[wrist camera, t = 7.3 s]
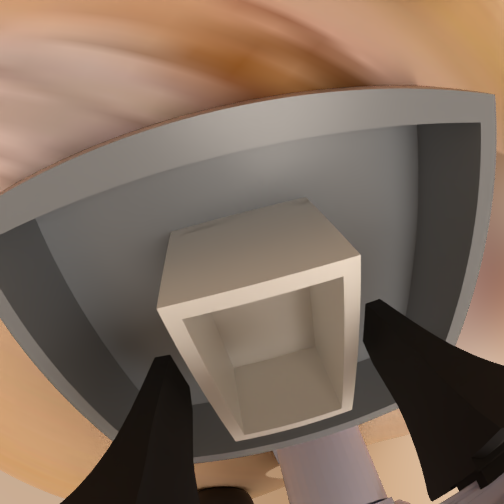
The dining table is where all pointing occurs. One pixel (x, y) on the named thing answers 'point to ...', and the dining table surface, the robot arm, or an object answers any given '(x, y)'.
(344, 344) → the small crate
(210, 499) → the cola bottle
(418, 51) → the dining table surface
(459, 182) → the big crate
